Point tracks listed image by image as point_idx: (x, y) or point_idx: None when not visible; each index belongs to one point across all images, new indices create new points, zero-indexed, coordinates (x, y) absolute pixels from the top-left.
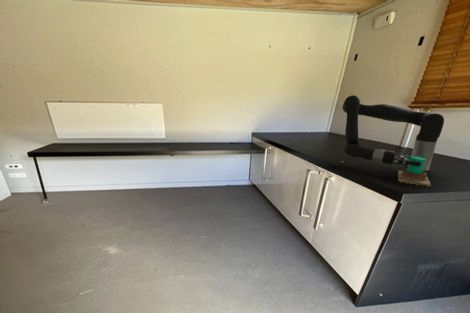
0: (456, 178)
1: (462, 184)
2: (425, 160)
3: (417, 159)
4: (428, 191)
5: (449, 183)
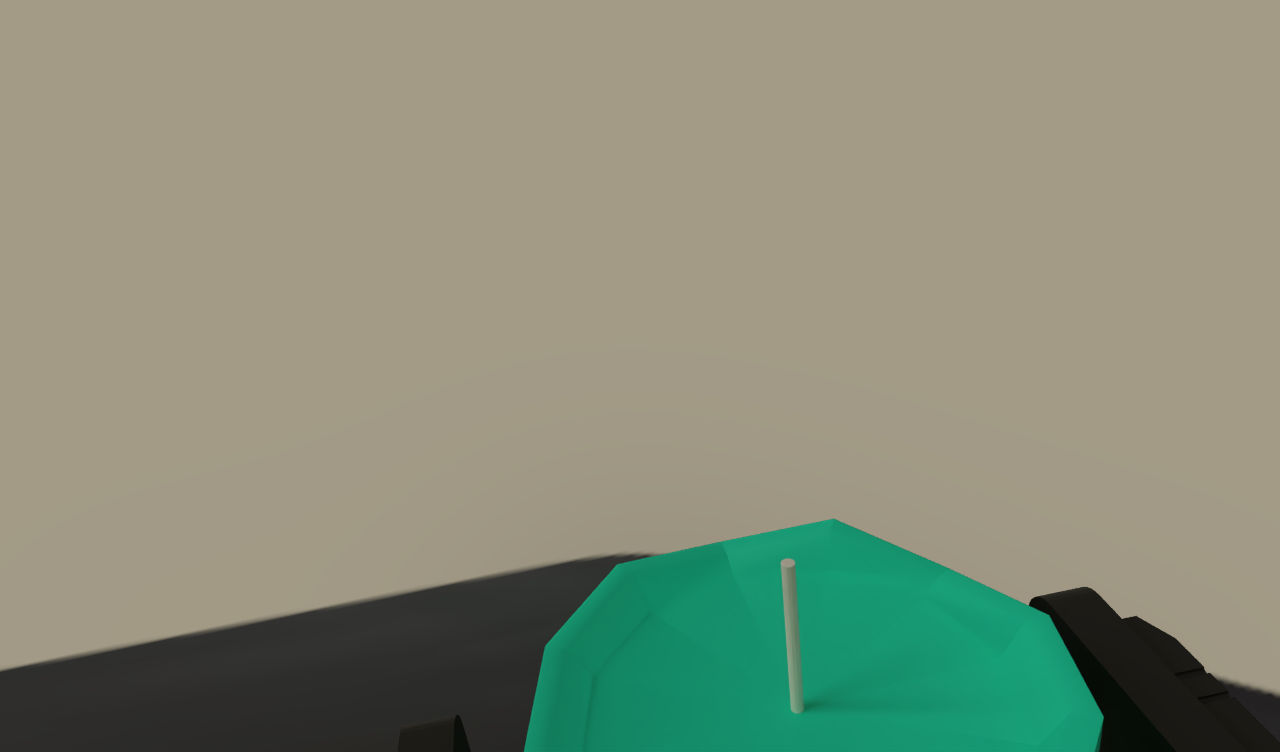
0: (5, 735)
1: (347, 621)
2: (729, 568)
3: (1048, 629)
4: (1274, 703)
5: (437, 700)
